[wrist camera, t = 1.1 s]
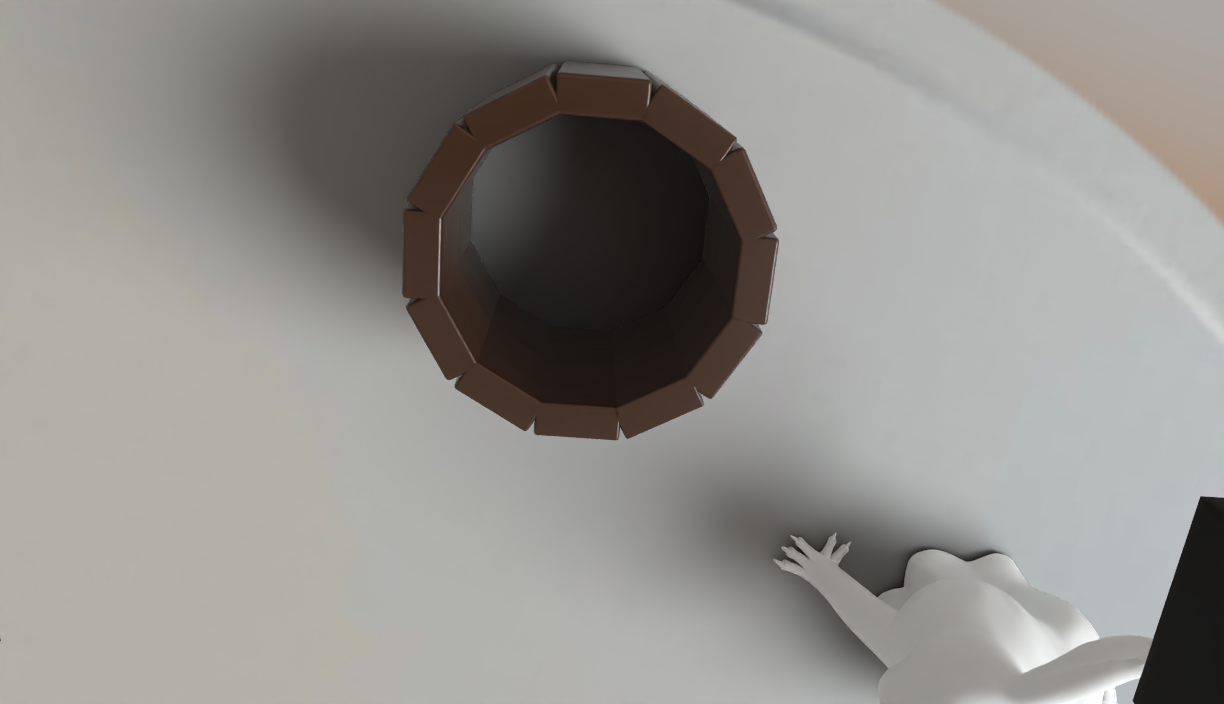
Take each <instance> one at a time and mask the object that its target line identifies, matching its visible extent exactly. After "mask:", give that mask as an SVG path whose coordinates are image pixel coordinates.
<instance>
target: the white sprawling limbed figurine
mask: <svg viewBox="0 0 1224 704" xmlns="http://www.w3.org/2000/svg"><path fill="white" fill-rule="evenodd" d="M836 534H837V532H836V533H834V535H833V536H830V537H829V538H828V541H827V544H826V546H825V547H824V548H823V550H822V551H821V552H818V551H816V550H814V549H813V548H812V547H811V546H810V545H808V544H807V543H806V542H805V540H804V539H803V538H802V537H798V538H797V537H794V536H792V535H790V537H791V538H792V539H793V540H795V543H796V545H797V546H798V547H799V548H800V549H802V551H803V552H804V553H805V554H806V555H807V556H808V557H809V558H807V557H806V556H805V555H803V554H802V553H800V552H798V551H796V550H795V549H794V548H793V547H789V548H786V547H784V546H782V547H781V548H782V550H783V551H785V552H786V555H787V556H788V557H790V558H792V559H794V560H795V561H796V562H798V563H799V564H800V565H799V564H796V563H792V562H790V561H788V560H783V561H779V560H776V559H773V561H774V562H775V563H776V564H778V565H779V566H780V568H781V569H782V570H785V571H789V572H792V573H794V574H796V575H799V576H801V577H802V578H804V579H805V580H807V581H808V582H809V583H811V584H812V585H813V586H814V587H815V588H816V589H817V590H818V591H819V592H820V593H821V594H822V595H823V596H824V597H825V598H826V599H827V600H828V602H829V603H830V604H831V606H832V607H833V608H834V610H835V611H836V612H837V614H838V615H839V616H840V617H841V619H842V620H843V621H844V622H845V624H846V625H847V626H848V627H849V628H850V629H851V630H852V631H853V632H854V633H855V635H856V636H857V637H858V638H859V639H860V640H861V641H862V642H863V643H864V644H865V645H866V646H867V647H868V648H869V649H870V650H871V651H872V652H873V653H874V654H875V655H876V656H877V657H878V658H879V659H880V660H881V661H882V662H883V663H884V664H885V665H886V666H887V667H888V668H889V669H887V670H886V672H885V673H884V674H883V676H882V677H881V679H880V681H879V684H878V694H879V700H880V704H1117V700H1116V690H1115V687H1116V686H1118V685H1120V684H1123V683H1125V682H1128V681H1131V680H1133V679H1137V678H1140V677H1141V674H1142V671H1143V668H1144V665H1145V662H1146V659H1147V656H1148V653H1149V650H1150V647H1151V644H1152V641H1153V639H1151V638H1147V637H1142V636H1110V637H1105V638H1101V639H1100V638H1099V636H1098V634H1097V633H1096V631H1095V629H1094V628H1093V627H1092V625H1091V624H1090V623H1089V621H1088V620H1087V619H1086V618H1085V617H1084V616H1083V615H1082V614H1081V613H1080V612H1079V611H1078V610H1077V609H1076V608H1075V607H1074V606H1073V605H1072V604H1071V603H1069V602H1068V601H1066V600H1064V599H1061V598H1059V597H1056V596H1053V595H1051V594H1048V593H1045V592H1042V591H1039V590H1037V589H1035V588H1034V587H1032V586H1031V585H1030V584H1029V583H1028V582H1027V581H1026V580H1025V578H1024V577H1023V575H1022V574H1021V572H1020V571H1019V569H1018V568H1017V566H1016V565H1015V563H1014V562H1013V561H1012V559H1011V558H1009V557H1008V556H1005V555H1003V554H998V553H995V554H990V555H987V556H984V557H982V558H979V559H977V560H974V561H969V562H966V561H963V560H961V559H959V558H957V557H955V556H953V555H951V554H949V553H946V552H944V551H940V550H925V551H921V552H918V553H916V554H915V555H913V556H912V557H911V558H910V560H909V561H908V565H907V569H906V573H905V580H904V587H902V588H897V589H892V590H889V591H886V592H884V593H882V594H881V595H880V596H878V597H876V596H875V595H873V594H872V593H871V592H870V591H868V590H867V589H866V588H865V587H863V586H862V585H861V584H860V583H858V582H857V581H856V580H855V579H853V578H852V577H851V576H849V575H848V574H847V573H846V572H844V571H843V570H842V569H840V568H839V566H838V565H839V562H840V561H841V559H842V557H843V556H844V555H845V554H846V553H847V552H848V551H849V548H848V547H849V546H850V544H851V541H850V542H849V543H848V544H846V545H844V544H843V545H841V546H840V547H839V548H838V550H837V551H835V552H834V553H833V554H831V553H832V550H833V547H834V546H835V544H836V538H835V537H836ZM801 565H802V566H803V567H802V566H801Z"/></svg>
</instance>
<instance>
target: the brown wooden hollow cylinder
mask: <svg viewBox="0 0 1224 704" xmlns="http://www.w3.org/2000/svg"><path fill="white" fill-rule="evenodd" d="M558 115H571V116H583V117H595V118H607V119H619V120H631V121H643V122H644V123H645V124H647V125H648V126H649V127H651V128H652V129H654V130H655V131H656V132H658V133H659V134H661V135H662V136H663V137H665V138H666V139H668V140H669V141H670V142H672V143H673V144H675V145H676V146H677V147H679V148H680V149H682V150H683V151H684V152H686V153H687V154H689V155H690V156H691V157H693V160H694V162H695V164H696V167H697V169H698V171H699V173H700V176H701V178H702V180H703V183H704V185H705V187H706V189H707V192H708V194H709V196H710V197H709V205H708V214H707V222H706V231H705V239H704V247H703V256H702V259H701V260H700V262H699V263H698V264H697V266H696V267H695V268H694V270H693V271H692V272H691V274H690V275H689V276H688V278H687V279H686V281H685V282H684V283H683V285H682V286H681V287H680V289H679V290H678V291H677V293H676V294H675V295H674V297H673V298H672V299H671V301H670V302H669V304H668V305H667V306H666V307H664V308H662V309H660V310H657V311H655V312H653V313H651V314H649V315H646V316H644V317H642V318H640V319H638V320H635V321H633V322H631V323H629V324H627V325H624V326H622V327H620V328H618V329H616V330H613V331H611V332H608V331H594V330H581V329H567V328H553V327H550V326H548V325H546V324H545V323H543V322H542V321H540V320H539V319H537V318H536V317H534V316H532V315H531V314H529V313H528V312H526V311H525V310H523V309H522V308H520V307H519V306H517V305H515V304H514V303H512V302H511V301H509V300H508V299H506V298H505V297H503V296H501V295H500V294H499V292H498V290H497V288H496V287H495V285H494V283H493V281H492V279H491V277H490V275H489V273H488V271H487V270H486V268H485V266H484V264H483V262H482V260H481V258H480V256H479V255H478V253H477V251H476V249H475V247H474V245H473V243H472V241H471V222H472V194H473V177H474V175H475V174H476V172H477V171H478V169H479V168H480V166H481V164H482V163H483V161H484V160H485V158H486V157H487V155H488V154H489V152H490V150H491V149H492V148H493V147H495V146H497V145H499V144H501V143H503V142H505V141H507V140H509V139H511V138H513V137H515V136H517V135H519V134H521V133H523V132H525V131H527V130H529V129H531V128H533V127H535V126H538V125H540V124H542V123H544V122H546V121H548V120H550V119H552V118H554V117H556V116H558ZM736 141H737V138H736V137H735V136H734V135H732V134H731V133H730V132H729V131H727V130H726V129H725V128H724V127H722V126H721V125H720V124H719V123H717V122H716V121H715V120H713V119H712V118H711V117H710V116H708V115H707V114H706V113H705V112H703V111H702V110H701V109H699V108H698V107H696V106H695V105H694V104H692V103H691V102H690V101H688V100H687V99H685V98H684V97H683V96H681V95H680V94H679V93H677V92H676V91H675V90H673V89H672V88H670V87H669V86H668V85H666V84H665V83H664V82H662V81H661V80H659V79H658V78H657V77H655V76H654V75H653V74H651V73H650V72H649V71H645V72H644V73H643V72H642V71H641V70H640V69H639V68H637V67H630V66H619V65H607V64H596V63H584V62H573V61H565V62H564V63H563V65H562V66H561V68H560V69H559V67H558V65H557V64H556V63H555V64H551V65H549V66H547V67H545V68H543V69H541V70H539V71H537V72H535V73H533V74H531V75H529V76H527V77H525V78H523V79H521V80H519V81H517V82H515V83H513V84H511V85H509V86H507V87H505V88H503V89H501V90H499V91H497V92H495V93H493V94H491V95H490V96H488V97H487V98H486V99H484V100H483V101H482V102H480V103H479V104H478V105H476V106H475V107H474V108H472V109H471V110H470V111H468V112H467V113H466V114H465V115H464V116H463V118H461V119H460V120H459V121H457V122H456V123H455V124H453V125H452V127H451V128H450V130H449V132H448V133H447V135H446V136H445V138H444V140H443V141H442V143H441V144H440V146H439V148H438V149H437V151H436V152H435V154H434V156H433V157H432V159H431V160H430V162H429V164H428V165H427V167H426V168H425V170H424V172H423V173H422V175H421V176H420V178H419V180H418V181H417V183H416V184H415V186H414V188H413V189H412V191H411V192H410V194H409V196H408V197H407V201H408V202H409V203H410V205H409V206H408V207H407V208H406V209H405V210H404V212H403V275H402V294H403V297H405V298H411V299H410V301H409V302H408V304H407V306H406V309H407V311H408V313H409V315H410V316H411V318H412V320H413V322H414V324H415V325H416V327H417V329H418V331H419V332H420V334H421V336H422V338H423V339H424V341H425V343H426V345H427V346H428V348H429V350H430V352H431V353H432V355H433V357H434V359H435V360H436V362H437V364H438V366H439V367H440V369H441V371H442V373H443V374H444V376H445V378H446V379H447V380H451V379H453V378H456V377H457V380H456V383H455V388H456V389H457V390H458V391H460V392H462V393H463V394H465V395H467V396H468V397H470V398H471V399H473V400H475V401H476V402H478V403H480V404H481V405H483V406H484V407H486V408H488V409H489V410H491V411H493V412H494V413H496V414H498V415H499V416H501V417H502V418H504V419H506V420H507V421H509V422H511V423H512V424H514V425H515V426H517V427H519V428H520V429H522V430H524V431H526V430H528V429H529V427H530V426H531V425H532V423H533V422H534V420H535V423H534V433H535V434H536V435H546V436H561V437H576V438H591V439H605V440H618V438H619V433H620V427H621V429H622V431H623V433H624V435H625V437H626V438H627V439H629V438H631V437H633V436H636V435H638V434H640V433H642V432H645V431H647V430H649V429H652V428H654V427H656V426H658V425H661V424H663V423H665V422H668V421H670V420H672V419H674V418H677V417H679V416H681V415H684V414H686V413H688V412H690V411H693V410H695V409H697V408H700V407H702V406H703V405H704V402H703V399H702V396H701V394H703V395H704V396H706V397H707V398H709V399H711V398H713V397H714V395H715V394H716V393H717V392H718V390H719V389H720V388H721V386H722V385H723V384H724V383H725V381H726V380H727V379H728V377H729V376H730V375H731V374H732V372H733V371H734V370H735V368H736V367H737V366H738V365H739V363H740V362H741V361H742V360H743V358H744V357H745V356H746V354H747V353H748V352H749V351H750V349H751V348H752V347H753V345H754V344H755V343H756V342H757V340H758V339H759V338H760V337H761V335H762V331H761V329H760V327H759V326H758V324H761V325H764V324H766V323H767V321H768V314H769V307H770V300H771V293H772V286H773V280H774V273H775V266H776V259H777V252H778V245H779V240H778V238H777V237H776V236H775V235H774V234H773V232H775V231H776V230H777V225H776V223H775V220H774V218H773V216H772V213H771V211H770V208H769V206H768V204H767V201H766V199H765V196H764V194H763V192H762V189H761V187H760V184H759V182H758V180H757V177H756V175H755V172H754V170H753V168H752V165H751V163H750V160H749V158H748V155H747V153H746V151H745V149H744V148H743V147H742V146H740V145H739V144H738V143H737V142H736Z"/></svg>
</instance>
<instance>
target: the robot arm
mask: <svg viewBox="0 0 1224 704" xmlns="http://www.w3.org/2000/svg"><path fill="white" fill-rule="evenodd" d="M0 641H1V640H0ZM1133 702H1134V703H1135V704H1224V498H1217V497H1202V496H1201V497H1200V500H1199V503H1198V506H1197V509H1196V512H1195V515H1194V518H1193V521H1192V524H1191V527H1190V530H1189V533H1188V536H1187V539H1186V542H1185V545H1184V548H1183V551H1182V554H1181V557H1180V560H1179V563H1178V566H1177V569H1176V572H1175V575H1174V578H1173V581H1172V584H1171V587H1170V590H1169V593H1168V596H1167V599H1166V602H1165V605H1164V608H1163V611H1162V614H1161V617H1160V620H1159V623H1158V626H1157V629H1156V632H1155V635H1154V638H1153V641H1152V644H1151V647H1150V650H1149V653H1148V656H1147V659H1146V662H1145V665H1144V668H1143V671H1142V674H1141V677H1140V680H1139V683H1138V686H1137V689H1136V692H1135V695H1134V698H1133Z"/></svg>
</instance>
